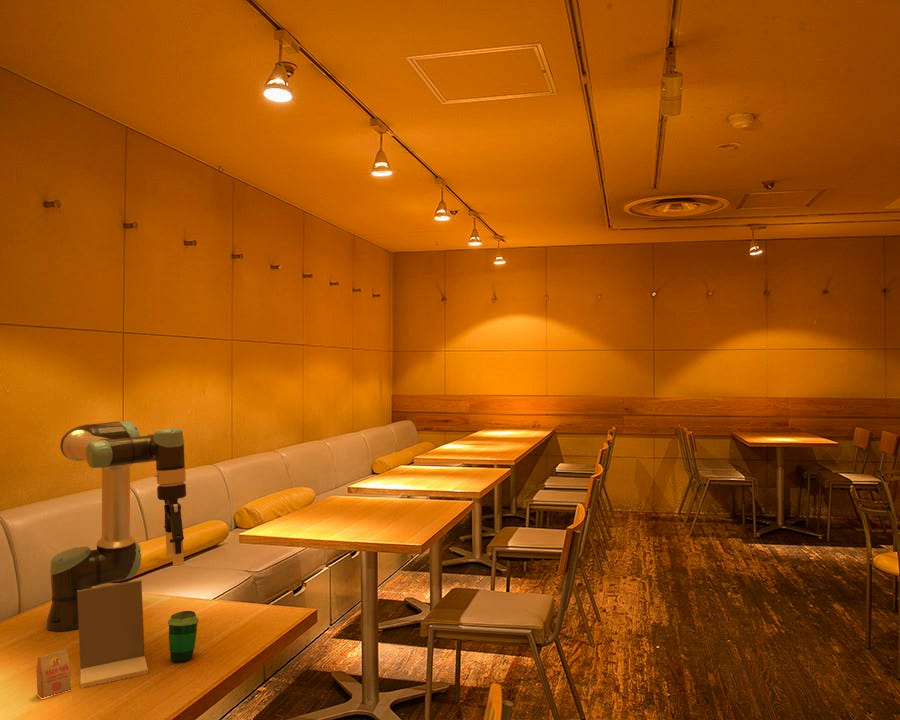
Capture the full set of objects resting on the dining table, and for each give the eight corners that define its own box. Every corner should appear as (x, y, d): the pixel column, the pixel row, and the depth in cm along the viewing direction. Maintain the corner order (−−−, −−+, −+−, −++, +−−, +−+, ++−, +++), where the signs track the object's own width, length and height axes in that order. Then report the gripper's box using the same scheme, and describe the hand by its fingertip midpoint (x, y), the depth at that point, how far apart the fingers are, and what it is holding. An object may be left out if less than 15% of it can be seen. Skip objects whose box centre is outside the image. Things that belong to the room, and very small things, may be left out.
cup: (163, 660, 203) (161, 617, 203) (188, 649, 210) (186, 608, 210) (180, 666, 198) (178, 622, 198) (206, 655, 205) (204, 612, 205)
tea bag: (37, 695, 184) (35, 655, 184) (66, 686, 189) (64, 647, 189) (41, 699, 181) (39, 659, 181) (70, 690, 186) (69, 651, 186)
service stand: (80, 670, 198) (77, 590, 198) (144, 657, 205) (140, 579, 205) (80, 688, 187) (77, 602, 187) (148, 673, 194) (144, 591, 194)
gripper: (152, 480, 213) (155, 553, 213) (162, 491, 191) (166, 572, 191) (179, 477, 217) (182, 549, 217) (192, 487, 195) (196, 567, 195)
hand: (175, 560), depth 204 cm, fingers open, 13 cm apart
